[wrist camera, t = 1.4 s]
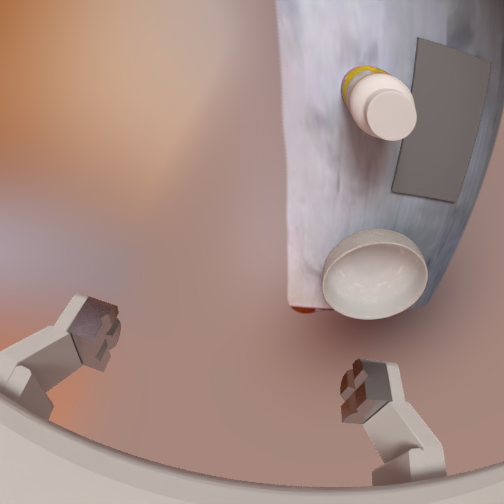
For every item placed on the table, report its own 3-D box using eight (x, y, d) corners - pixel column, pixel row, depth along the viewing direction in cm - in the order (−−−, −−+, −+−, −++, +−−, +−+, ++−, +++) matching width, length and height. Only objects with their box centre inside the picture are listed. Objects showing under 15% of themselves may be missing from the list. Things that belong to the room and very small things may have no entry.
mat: (417, 37, 26) (418, 37, 26) (489, 62, 25) (491, 63, 25) (391, 189, 41) (391, 191, 40) (454, 200, 40) (455, 202, 39)
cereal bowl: (314, 219, 47) (314, 250, 41) (420, 207, 42) (433, 236, 37) (327, 294, 57) (327, 325, 52) (414, 285, 52) (421, 315, 47)
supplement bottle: (401, 96, 32) (439, 129, 23) (361, 123, 36) (382, 165, 26) (370, 53, 29) (401, 66, 20) (328, 82, 33) (340, 107, 23)
